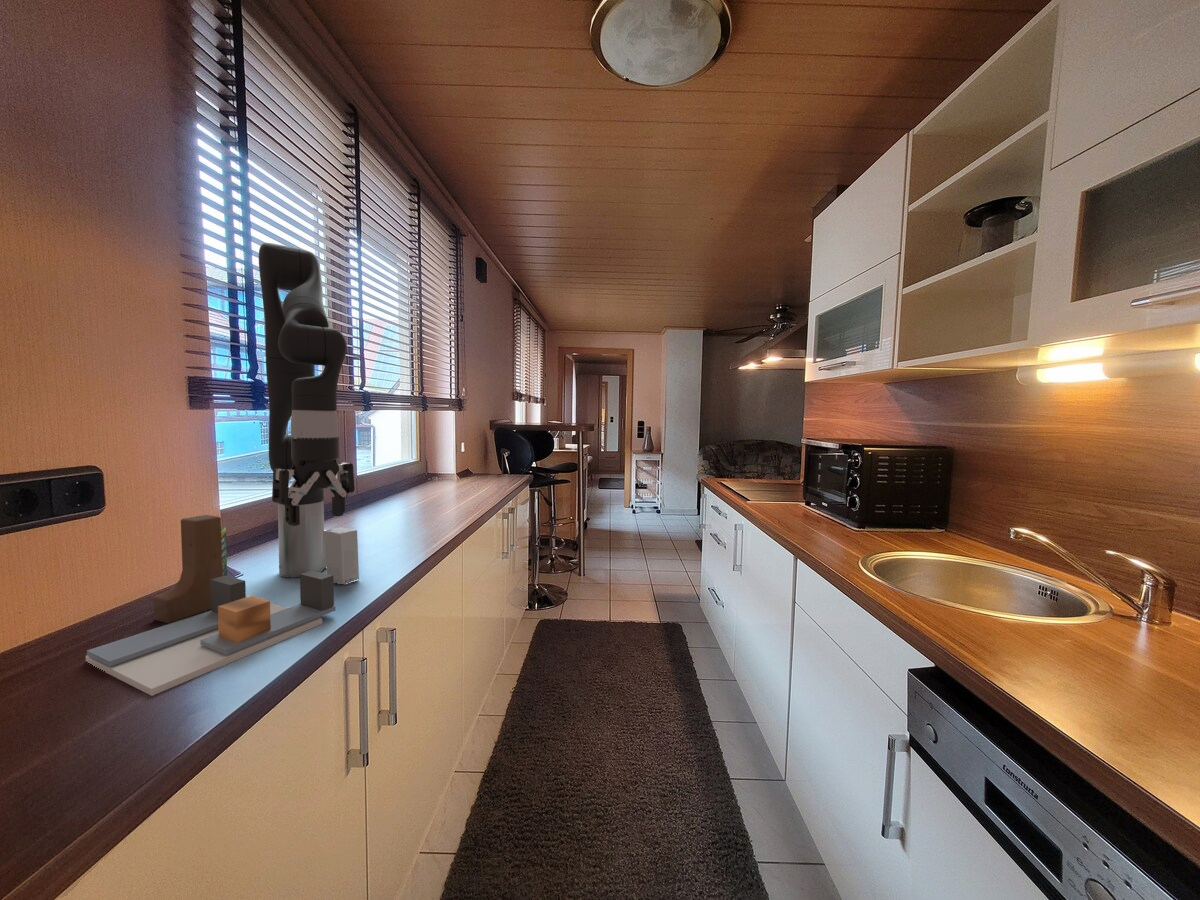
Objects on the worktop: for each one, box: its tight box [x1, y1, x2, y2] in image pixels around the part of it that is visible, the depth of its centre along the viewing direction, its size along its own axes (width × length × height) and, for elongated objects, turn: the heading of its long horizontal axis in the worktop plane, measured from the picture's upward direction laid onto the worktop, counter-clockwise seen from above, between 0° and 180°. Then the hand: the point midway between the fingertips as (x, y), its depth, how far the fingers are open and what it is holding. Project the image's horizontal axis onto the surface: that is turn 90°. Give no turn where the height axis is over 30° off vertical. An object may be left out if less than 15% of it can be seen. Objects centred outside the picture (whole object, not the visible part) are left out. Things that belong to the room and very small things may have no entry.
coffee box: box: [221, 526, 228, 576], centre depth 95 cm, size 8×3×13 cm, turn 28°
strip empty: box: [86, 575, 247, 667], centre depth 74 cm, size 18×7×7 cm, turn 157°
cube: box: [218, 595, 271, 643], centre depth 74 cm, size 5×5×5 cm
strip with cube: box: [200, 570, 337, 655], centre depth 78 cm, size 18×7×7 cm, turn 157°
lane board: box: [85, 602, 323, 697], centre depth 75 cm, size 24×19×1 cm
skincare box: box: [325, 526, 360, 585], centre depth 103 cm, size 6×4×12 cm
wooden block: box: [152, 514, 223, 625], centre depth 85 cm, size 9×4×18 cm, turn 160°
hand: (316, 520), depth 85 cm, fingers open, 8 cm apart
